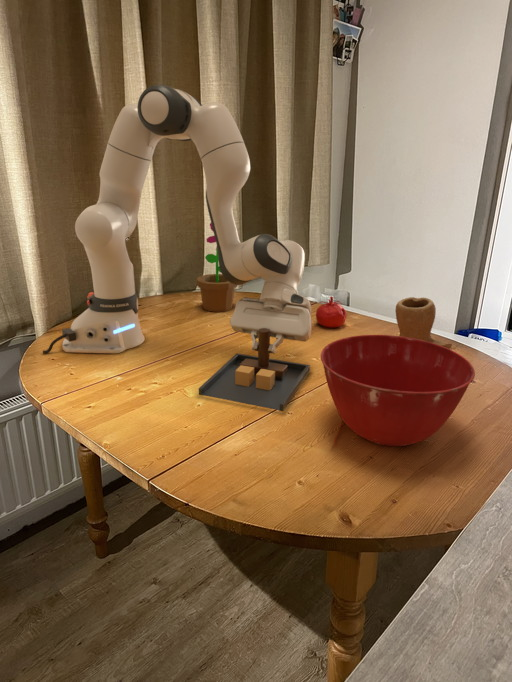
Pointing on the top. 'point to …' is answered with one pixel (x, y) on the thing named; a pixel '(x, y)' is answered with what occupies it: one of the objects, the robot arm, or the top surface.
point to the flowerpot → (215, 286)
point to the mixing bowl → (394, 386)
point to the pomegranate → (331, 314)
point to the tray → (275, 399)
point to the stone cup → (417, 319)
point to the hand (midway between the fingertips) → (263, 351)
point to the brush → (265, 357)
